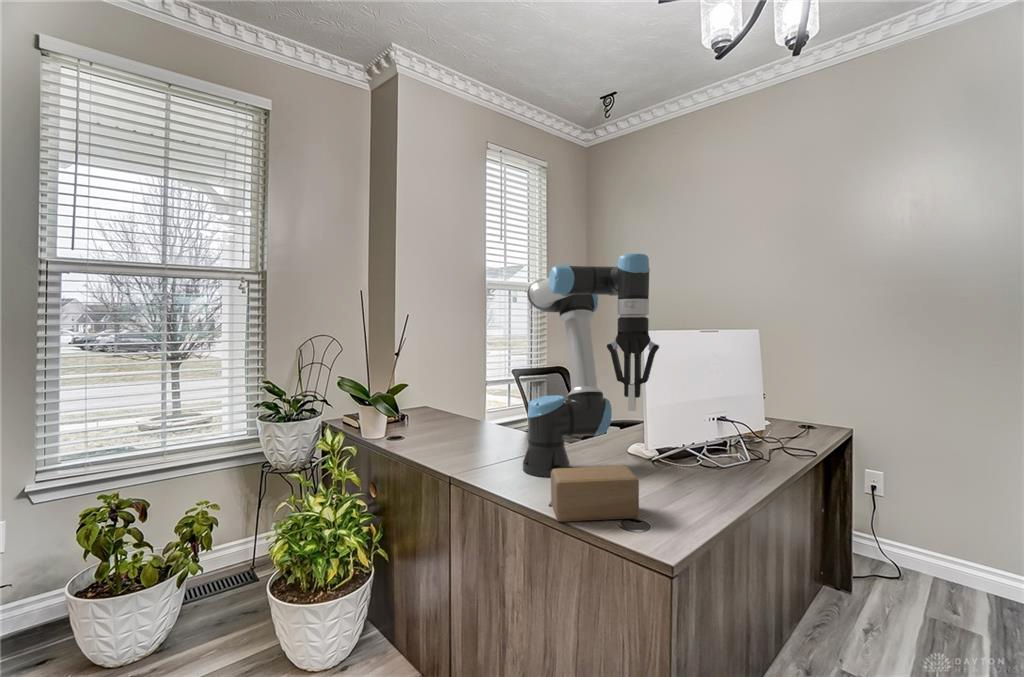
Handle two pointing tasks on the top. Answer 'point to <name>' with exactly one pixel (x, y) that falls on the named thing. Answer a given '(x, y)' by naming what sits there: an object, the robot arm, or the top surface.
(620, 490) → the block
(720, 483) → the top surface
